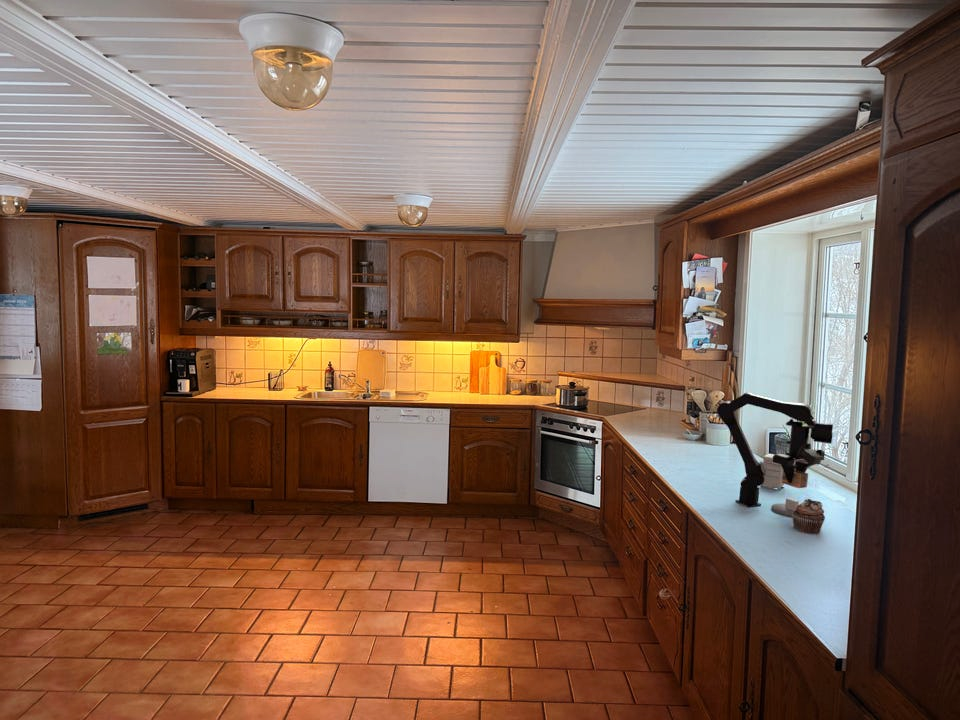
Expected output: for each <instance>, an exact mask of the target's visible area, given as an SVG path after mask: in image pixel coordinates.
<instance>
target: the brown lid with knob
mask: <svg viewBox="0 0 960 720" xmlns="http://www.w3.org/2000/svg"><path fill="white" fill-rule="evenodd" d="M798 505H800V501H799V500H796V499H793V498H790V497H786V498H785V503H774V504H771V511H772V512H774V513H776V514H779V515H781V516H785V517H789V518H793V516H792V512H793V511H795V510H796V507H797V506H798Z"/></svg>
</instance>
